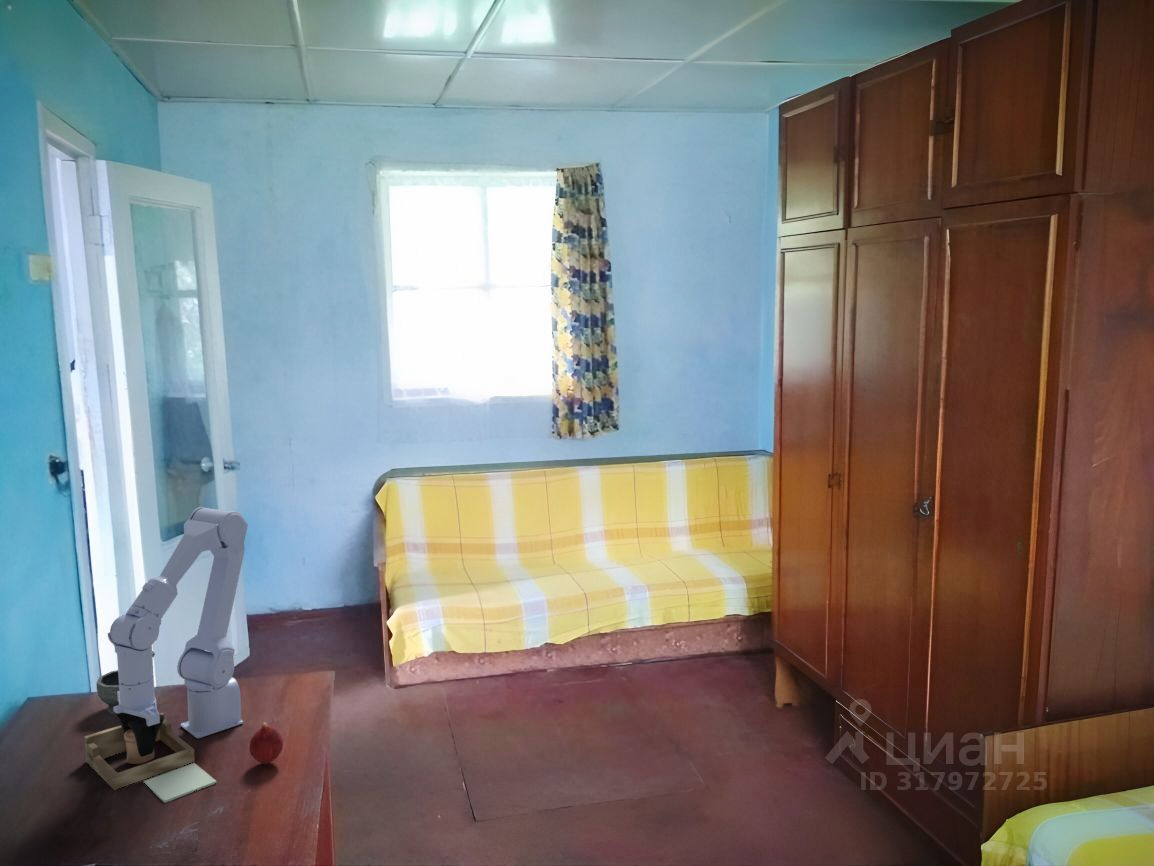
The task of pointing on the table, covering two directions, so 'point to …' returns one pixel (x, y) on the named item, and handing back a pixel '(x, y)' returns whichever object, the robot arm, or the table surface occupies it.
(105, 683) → the mortar and pestle
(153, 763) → the wooden frame
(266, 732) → the onion
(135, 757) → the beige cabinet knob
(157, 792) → the mat
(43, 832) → the table surface
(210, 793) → the table surface
